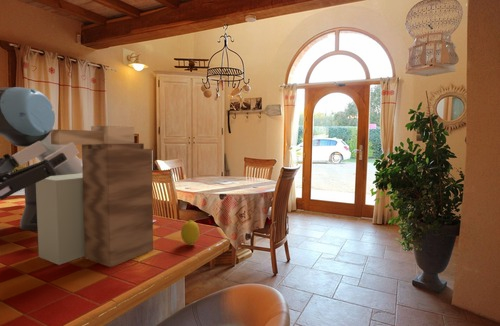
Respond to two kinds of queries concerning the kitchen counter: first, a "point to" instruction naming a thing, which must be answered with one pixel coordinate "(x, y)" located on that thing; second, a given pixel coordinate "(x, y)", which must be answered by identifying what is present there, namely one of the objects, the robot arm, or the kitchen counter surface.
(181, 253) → the kitchen counter surface
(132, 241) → the walnut stand
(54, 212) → the sage block
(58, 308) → the kitchen counter surface
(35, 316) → the kitchen counter surface
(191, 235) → the lemon
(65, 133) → the mallet
